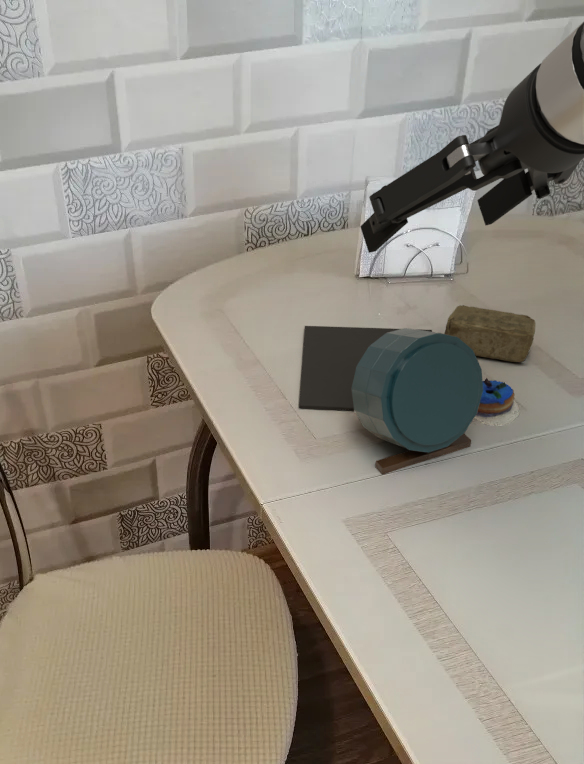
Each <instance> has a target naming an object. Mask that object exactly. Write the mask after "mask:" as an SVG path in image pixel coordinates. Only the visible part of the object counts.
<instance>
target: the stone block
mask: <svg viewBox="0 0 584 764" xmlns="http://www.w3.org/2000/svg"><path fill="white" fill-rule="evenodd" d="M536 324H537V323H536V319H533V318H531V317H530V316H528V315H526V314H519V313H513V312H507V311H502V310H495V309H488V308H481V307H477V306H476V307H475V306H468V305H464V304H463V305H461V304H460V305H458V306H456V308H455V309H454V310H453V312H452V313H451V314H449V316H448V318H447V323H446V324H445V330H444V333H443V334H446V335H451V336H455V337H458V338H459V339H461V340H462V341H463V342H464V343H465V344H467V345H468V346H469V347H470V348H471V349H472V350H473V351H474V353H475V356H476V357H479V358H480V357H481V358H488V359H492V360H501V361H506V362H511V363H522V362H524V361H525V360H526V358H527V356H528V355H529V353H530V350H531V348H532V345H533V343H534V341H535V340H534V337H535V333H536Z"/></svg>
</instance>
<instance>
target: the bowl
mask: <svg viewBox="0 0 584 764" xmlns="http://www.w3.org/2000/svg"><path fill="white" fill-rule="evenodd" d="M399 329H400V330H396V331H392V332H388V333H386V334H384V335H383V336H382V337H380V338H379V339H378V340H376V341H375V342H374V343H373V344H371V345H370V346H369V347H368V348H367V350H366V352H365V353H364V355H363V357H362V358H361V360H360V361H359V363H358V365H357V366H356V371H355V375H354V379H353V384H352V397H353V406H354V411H353V412H354V413H355V415H356V417H357V418H358V419H359V422H360V424H361V425H362V427H363V428H364V430H365V429H366V431H368V432H369V433H371V434H372V435H374V436H375V437H377V438H378V439H380V440H382V441H385V442H388V443H390V444H393V445H396V446H398V447H401V448H403V449H405V450H407V451H409V450H413V451H420V452H428V453H429V452H432V451H435V450H438V449H442V448H445V447H448V446H449V445H450V444H451V443H453V442H454V441H455V440H456V439H458V438H459V437H460V436H461V435H463V434H465V433H466V431H467V430H468V428H469V427H470V425H471V423H472V422H473V421H472V420H475V419H474V417H475V416H476V414H477V411H478V408H479V404H480V400H481V396H482V393H483V383H482V381H483V370H482V366H481V365H480V362H479V360H478V358H477V356H475V353H474V351H473V350H472V349H471V348H470V347H469V346H468V345H467V344H465V343H464V342H463V341H462V340H461V339H459V338H458V337H455V336H451V335H446V334H444V333H441V332H436V331H435V332H434V331H432V332H429V331H422V330H423V329H422V330H416V328H409V327H403V328H399Z"/></svg>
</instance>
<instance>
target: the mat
mask: <svg viewBox="0 0 584 764" xmlns="http://www.w3.org/2000/svg"><path fill="white" fill-rule="evenodd" d="M400 329H401V328H389V327H388V328H386V327H385V328H384V327H360V326H359V327H358V326H357V327H355V326H329V325H328V326H324V325H323V326H322V325H304V329H303V330H304V332H303V342H302V343H303V344H302V345H303V346H302V357H301V371H300V373H301V374H300V386H299V397H298V399H299V400H298V409H299V410H300V409H302V410H326V411H345V412H347V411H348V412H355V411H354V406H353V397H352V384H353V379H354V375H355V371H356V366H357V365H358V363H359V361H360V360H361V358H362V357H363V355H364V353H365V352H366V350H367V348H368V347H369V346H370V345H371V344H373V343H374V342H375V341H376V340H378V339H379V338H380V337H382V336H383V335H384V334H386V333H388V332H392V331H396V330H400ZM415 329H416V328H415ZM416 330H422V331H429V332H433V329H420V328H419V329H418V328H417V329H416Z"/></svg>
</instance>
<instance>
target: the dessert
mask: <svg viewBox="0 0 584 764" xmlns="http://www.w3.org/2000/svg"><path fill="white" fill-rule="evenodd" d="M482 383H483V393H482V396H481V400H480V404H479V408H478V411H477V414H476V416H475V417H474V419H473V420H472V422H473V425H478V423H474V422H475V419H476V420H477V421H479V422H480V424H483V425H488V426H495V427H498V426H500V427H501V426H506V425H509V424H511V423H512V422H514V421H515V420H517V419H518V417H519V415H520V407H519V404H518V402H516V401H515V391H514V389H513V388H512V386H510V385H509V384H508V383H506V381H497V380H490V379H489V378H488V377H486V378H484V380H482Z"/></svg>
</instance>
